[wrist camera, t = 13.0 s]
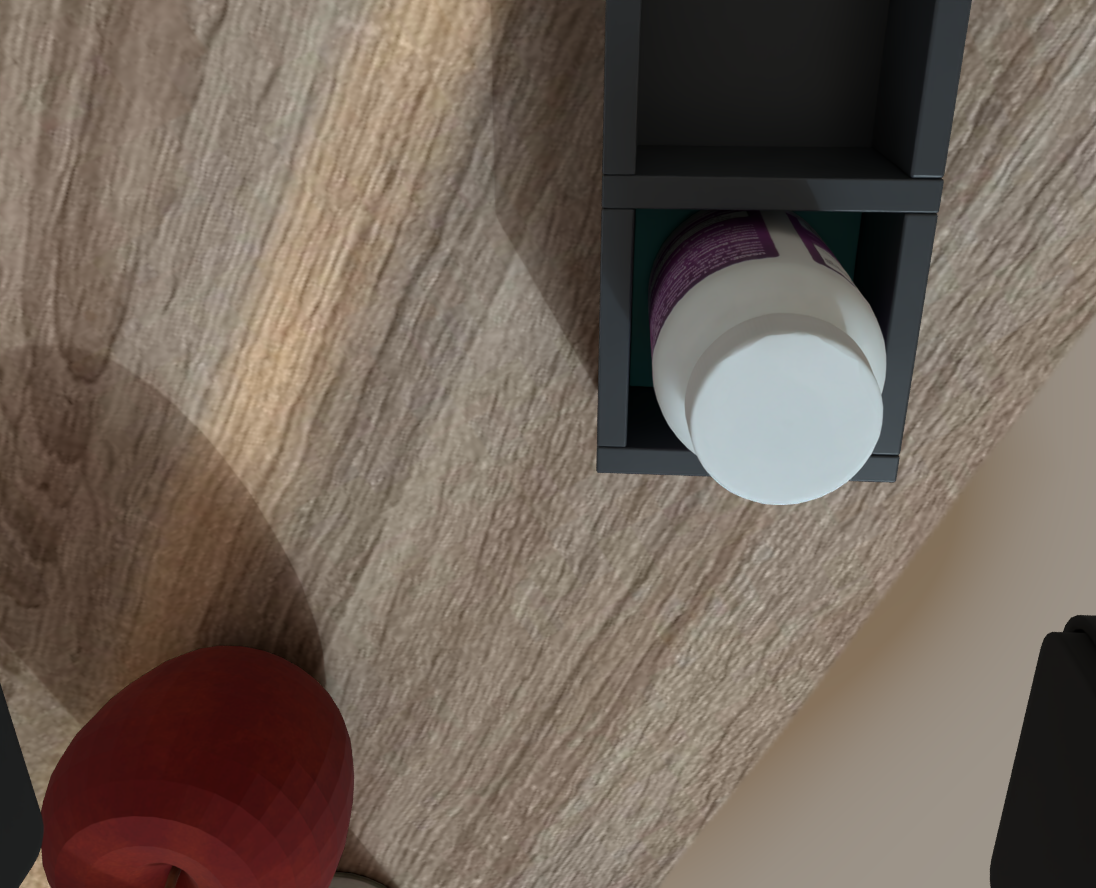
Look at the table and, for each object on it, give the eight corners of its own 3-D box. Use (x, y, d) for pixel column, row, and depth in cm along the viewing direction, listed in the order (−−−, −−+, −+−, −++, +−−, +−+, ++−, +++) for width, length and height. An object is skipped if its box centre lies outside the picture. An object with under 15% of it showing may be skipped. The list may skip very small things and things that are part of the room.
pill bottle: (637, 364, 31) (638, 521, 23) (658, 187, 29) (669, 286, 20) (816, 382, 31) (887, 547, 22) (852, 205, 29) (946, 313, 20)
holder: (614, -151, 26) (609, -174, 22) (936, -154, 26) (1001, -179, 21) (601, 401, 33) (596, 473, 28) (859, 408, 32) (896, 483, 28)
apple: (95, 704, 40) (-64, 923, 31) (219, 541, 36) (79, 735, 27) (301, 829, 42) (207, 1070, 33) (437, 686, 38) (375, 913, 29)
